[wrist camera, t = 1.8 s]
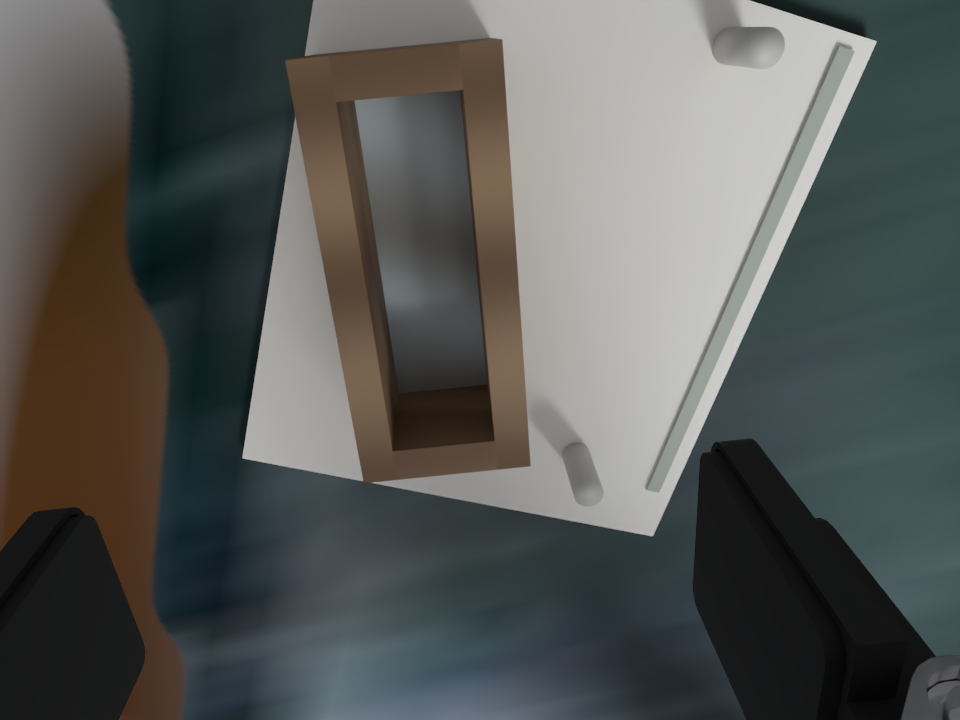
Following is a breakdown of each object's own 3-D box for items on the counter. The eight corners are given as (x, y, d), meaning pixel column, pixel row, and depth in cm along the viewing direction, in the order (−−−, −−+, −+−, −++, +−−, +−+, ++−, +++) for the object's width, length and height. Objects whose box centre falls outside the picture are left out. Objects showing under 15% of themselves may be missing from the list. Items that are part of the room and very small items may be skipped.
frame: (516, 400, 30) (530, 466, 26) (375, 414, 30) (363, 483, 25) (490, 38, 24) (502, 39, 20) (313, 54, 24) (284, 60, 20)
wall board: (649, 528, 34) (671, 581, 31) (245, 450, 31) (222, 500, 28) (867, 41, 25) (930, 42, 22) (336, -131, 22) (319, -158, 19)
